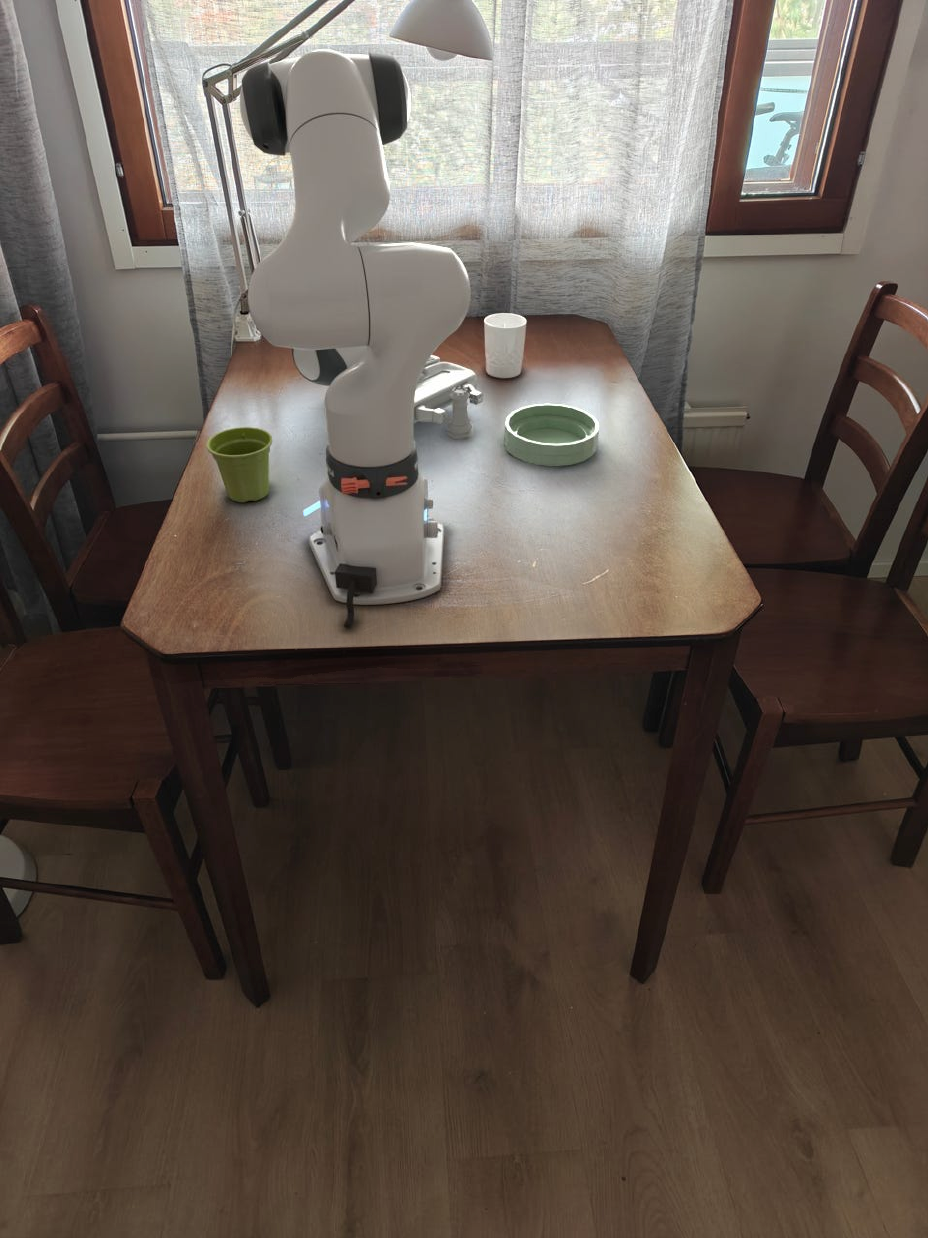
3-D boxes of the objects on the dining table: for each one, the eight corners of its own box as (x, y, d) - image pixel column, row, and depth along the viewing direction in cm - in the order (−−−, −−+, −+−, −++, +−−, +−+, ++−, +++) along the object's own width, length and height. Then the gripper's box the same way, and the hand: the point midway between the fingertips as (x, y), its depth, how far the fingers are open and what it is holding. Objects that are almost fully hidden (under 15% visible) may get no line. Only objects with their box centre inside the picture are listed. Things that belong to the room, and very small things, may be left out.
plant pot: (203, 499, 131) (192, 446, 125) (243, 472, 137) (235, 421, 132) (253, 515, 127) (244, 461, 122) (292, 486, 134) (285, 434, 128)
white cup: (520, 381, 166) (523, 329, 159) (479, 377, 167) (480, 325, 161) (526, 365, 172) (529, 314, 165) (487, 362, 173) (488, 311, 167)
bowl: (608, 465, 140) (611, 441, 137) (515, 472, 138) (516, 448, 135) (581, 423, 152) (583, 400, 149) (496, 430, 149) (496, 407, 147)
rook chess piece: (474, 429, 150) (474, 384, 145) (471, 441, 146) (472, 395, 141) (448, 427, 150) (447, 383, 145) (445, 439, 146) (444, 394, 142)
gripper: (357, 387, 143) (420, 411, 136) (439, 351, 156) (500, 371, 149) (360, 423, 147) (421, 447, 140) (439, 385, 160) (499, 406, 153)
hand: (462, 408), depth 145 cm, fingers open, 8 cm apart
